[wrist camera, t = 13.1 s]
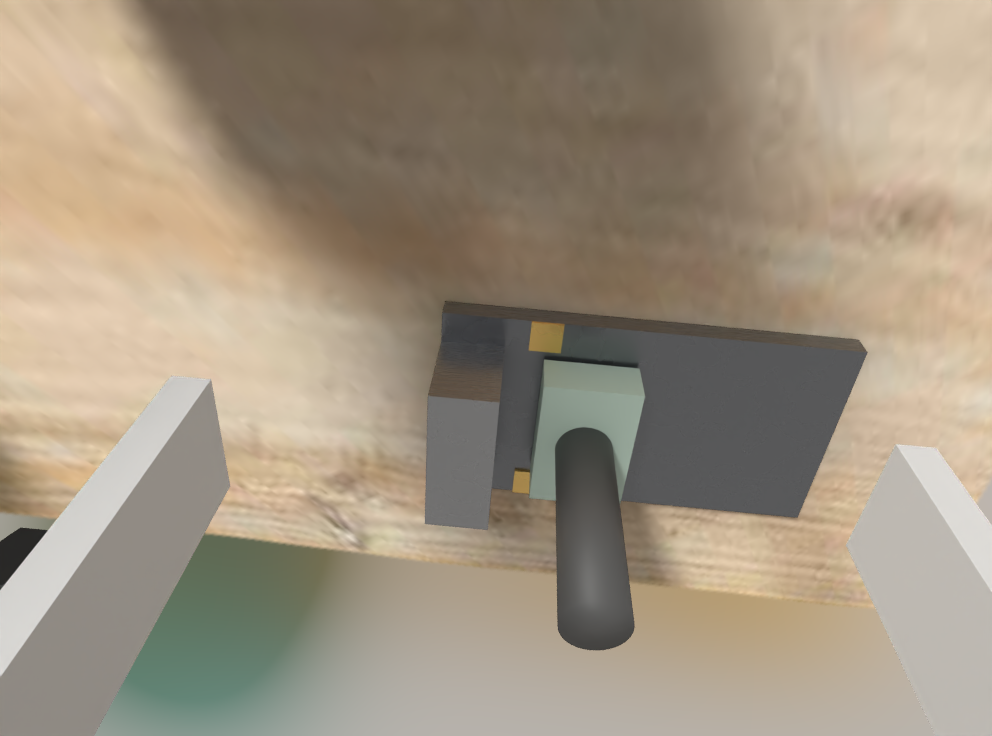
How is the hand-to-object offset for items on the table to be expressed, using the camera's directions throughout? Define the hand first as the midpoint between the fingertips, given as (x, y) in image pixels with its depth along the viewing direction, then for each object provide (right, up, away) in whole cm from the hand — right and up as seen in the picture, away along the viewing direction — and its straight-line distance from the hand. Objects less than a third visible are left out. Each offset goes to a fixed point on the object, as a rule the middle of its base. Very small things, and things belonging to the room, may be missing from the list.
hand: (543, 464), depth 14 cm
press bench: (+8, -1, +34) cm, 35 cm away
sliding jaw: (+5, -2, +33) cm, 33 cm away
